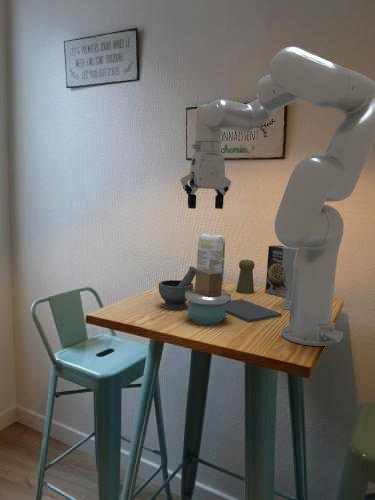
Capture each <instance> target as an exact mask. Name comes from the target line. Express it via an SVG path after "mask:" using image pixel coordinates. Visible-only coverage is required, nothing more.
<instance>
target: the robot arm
mask: <svg viewBox="0 0 375 500" xmlns="http://www.w3.org/2000/svg"><path fill="white" fill-rule="evenodd" d="M256 96H257V98H256V99H255V100H253V101H251V102H248V103H242V102H238V101H235V100H229V99H225V98H224V99H223V98H220V99H216V100H214V101H212V102H211V103H205V104H200V105H198V106H197V108H196V111H195V132H194V133H195V138H194V143H191V149H194V153H193V154H192V158H191V160H190V168H189V174H187V175H185V176H184V177H181V178H180V183H181V186H182V189H183V190H184V191H185V193H186V195H187V207H188V209H194V210H195V209H196V208H197V195H196V192H197V191H198V190H199V189H205V190H206V189H209V190H214V191H215V193H216V195H215V196H214V197H215V198H214V199H215V200H214V202H215V203H214V208H215V209H217V210H223V209H224V199H225V198H224V196H226V194H227V192H228V191H229V189H230V187H231V184H232V181H231V179H229V178H228V177H226V168H225V167H226V166H225V158H224V155H223V154H222V153H221V152H222V134H223V133H222V131H223V130H230V131H234V132H241V133H242V132H243V133H244V132H248V131H251V130H254V129H256V128H259V127H260V126H263V125H265V124H266V123H268V122H269V121H270V120H271V119H272V118H273V116H274V115H275V114H276V112H277V110H280V109H282V108H284V107H286V106H288V105H291V104H292V103H294V102H297V101H298V100H303V101H305V102H306V103H309V104H311V105H312V106H315V107H318V108H321V109H324V110H328V111H332V112H337V113H340V114H342V115H343V116H344V118H343V119H342V121H340V123H339V124H338V125H337V127H336V128H335V129H334V131H333V133H332V135H331V137H330V140H329V143H328V145H327V147H326V150H325V152H324V154H323V155H322V154H321V155H319V154H314V155H309V156H307V157H305V158H303V159H302V160H301V161H300V162H298V164H297V165H296V166H295V167H294V168H293V171H292V172H291V173H290V176H289V179H288V181H287V184H286V187H285V190H284V193H283V196H282V199H281V200H280V204H279V206H278V210H277V212H276V216H275V221H274V232H275V236H276V238H277V239H278V241H279V242H280V243H281V244H282V245H283V246H288V247H292V248H298V249H297V252H296V255H295V259H294V266H293V278H292V291H291V304H290V310H289V320H288V325H286V326H284V327H283V328H281V335H282V337H283V338H284V339H285V340H288V341H290V342H293V343H295V344H299V345H303V346H309V347H310V346H312V347H325V346H331V345H333V344H336V343H338V344H339V343H340V342H341V341H342V338H343V337H344V333H343V332H342V331H340V330H336V328H335V327H336V322H334V321H332V316H333V314H332V313H333V305H334V304H333V303H334V292H335V283H336V273H337V272H336V271H337V262H338V256H339V250H340V246H341V243H342V238H343V235H344V218H343V217H342V215H341V213H340V212H339V211H338V210H337V209H336V208H335V207H333V206H331V205H328V204H325V202H327V203H328V202H329V203H330V202H341V201H344V200H346V199H348V198H349V197H350V196H351V195H352V194H353V192H354V191H355V189H356V186H357V183H358V182H359V179H360V176H361V175H362V171H363V169H364V166H365V164H366V162H367V159H369V158H368V157H369V154H370V152H371V149H372V147H373V145H374V143H375V81H374V80H373V79H372V78H370V77H368V76H367V75H364V74H363V73H360V72H358V71H356V70H353V69H349V68H347V67H345V66H342V65H340V64H337V63H335V62H332V61H329V60H327V59H324V58H322V57H321V56H319V55H318V54H316V53H314V52H311V51H310V50H306V49H304V48H302V47H298V46H293V45H292V46H287V47H284V48H283V49H280V50H279V51H278V52H277V53H276V54H275V55H274V56H273V58H272V60H271V61H270V65H269V74H266V75H265V76H263V77H261V78H260V79H259V81H258V82H257V86H256ZM188 182H189V183H188Z"/></svg>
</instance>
